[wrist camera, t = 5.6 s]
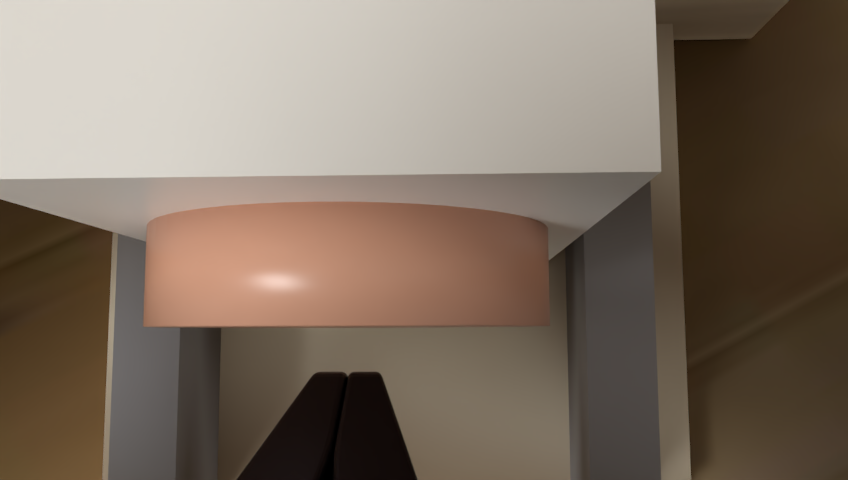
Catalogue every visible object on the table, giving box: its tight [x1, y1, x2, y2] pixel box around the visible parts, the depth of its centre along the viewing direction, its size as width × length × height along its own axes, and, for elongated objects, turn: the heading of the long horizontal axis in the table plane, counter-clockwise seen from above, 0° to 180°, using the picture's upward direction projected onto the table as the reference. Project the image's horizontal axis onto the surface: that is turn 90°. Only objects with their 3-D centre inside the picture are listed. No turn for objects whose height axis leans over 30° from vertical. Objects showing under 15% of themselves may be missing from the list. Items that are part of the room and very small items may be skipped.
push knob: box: [0, 0, 661, 328], centre depth 12 cm, size 6×6×10 cm
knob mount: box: [102, 0, 789, 480], centre depth 11 cm, size 12×16×14 cm
